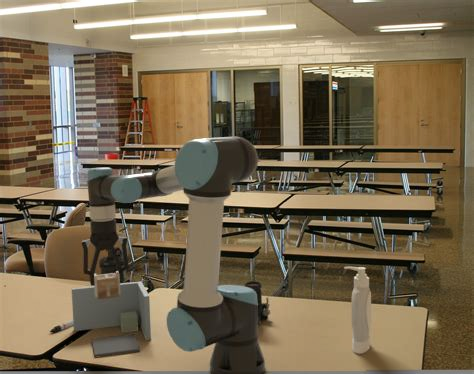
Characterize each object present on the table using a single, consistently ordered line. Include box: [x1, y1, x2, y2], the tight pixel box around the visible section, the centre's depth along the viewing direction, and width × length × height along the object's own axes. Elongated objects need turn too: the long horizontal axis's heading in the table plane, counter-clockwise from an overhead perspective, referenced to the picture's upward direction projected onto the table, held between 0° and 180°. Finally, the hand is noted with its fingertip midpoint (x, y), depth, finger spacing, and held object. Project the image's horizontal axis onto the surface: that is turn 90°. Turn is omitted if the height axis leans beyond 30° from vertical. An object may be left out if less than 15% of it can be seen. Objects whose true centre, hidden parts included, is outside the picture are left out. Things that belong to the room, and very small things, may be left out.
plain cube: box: [120, 311, 139, 333], centre depth 206 cm, size 5×5×5 cm
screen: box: [71, 281, 152, 341], centre depth 200 cm, size 17×23×14 cm
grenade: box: [98, 246, 125, 283], centre depth 235 cm, size 9×11×20 cm
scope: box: [244, 280, 271, 327], centre depth 208 cm, size 8×14×10 cm
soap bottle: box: [343, 266, 372, 355], centre depth 185 cm, size 13×8×24 cm, turn 159°
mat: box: [91, 333, 140, 358], centre depth 191 cm, size 13×13×1 cm
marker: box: [49, 318, 74, 334], centre depth 209 cm, size 15×2×2 cm, turn 149°
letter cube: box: [96, 273, 119, 299], centre depth 190 cm, size 6×6×6 cm
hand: (107, 294), depth 190 cm, fingers closed on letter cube, 6 cm apart
